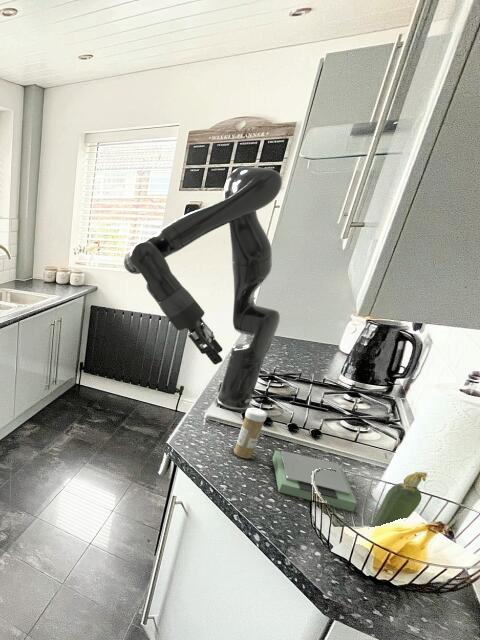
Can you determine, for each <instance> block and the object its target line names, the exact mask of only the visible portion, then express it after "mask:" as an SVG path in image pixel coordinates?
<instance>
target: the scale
mask: <svg viewBox="0 0 480 640" xmlns="http://www.w3.org/2000/svg"><path fill="white" fill-rule="evenodd" d="M280 452H281V451H280V450H274V452H273V455H272V464H273V467H274V473H275V478H276V479H275V480H276V485H277V491H278V493H281V494H284V495H289V496H293V497H296V498H299V499H304V500H308V501H311V492H312V491H311V486H310V485H306V484H302V483H297V482H293V481H289V480H286V478H285V473H284V469H283V464H282V459H281V455H280ZM338 465H339V464H338ZM339 467H340V470H341V472H342V475H343V477H344V479H345V482H346V484H347V487H348V489H349V491H350V495H349V496H348V495H344V494H340V493H336V492H333V491H329V490H325V489H322V488H318V490H319V492H320V493H321V495H322V496H323V498H324V499H326V500H327V503H329V504H331V505H332V506H331V507H334V508H338V509H341V510H345V511H349V512H354V511H355V509H356V506H357V504H358V503H357V500H356V498H355V495H354V493H353V491H352V487H351V486H350V483H349V480H348V478H347V476H346V473H345V471H344V469H343V467H342V465H339ZM332 501H333V502H332Z"/></svg>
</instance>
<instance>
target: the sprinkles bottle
mask: <svg viewBox="0 0 480 640" xmlns="http://www.w3.org/2000/svg"><path fill="white" fill-rule="evenodd" d="M267 416H268V413H267V412H266V411H265V410H263V409H260V408H257V407H249V408H248V409H247V410H245V414H244V419H243V422H242V425H241V426H240V430H239V434H238V436H237V440H236V444H235V446H234V449H233V453H234V454H235V455H236V456H237V457H239V458H242V459H252V458H253V456H254V452H255V449H256V446H257V444H258V440H259V438H260V436H261V431H262V428H263V426H264V423H265V421H266V420H267V418H268V417H267Z"/></svg>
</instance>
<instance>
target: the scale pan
mask: <svg viewBox="0 0 480 640" xmlns="http://www.w3.org/2000/svg"><path fill="white" fill-rule="evenodd" d="M279 452H280V455H281V459H282V464H283V469H284V473H285V478H286V480H289V481H293V482H297V483H302V484H306V485H310V486H311V473H312V471H314V470H315V469H319V468H331V469H334V470H336V471H338V472H339V473H337V472H335V471H330V470H321V471H319V472H317V474H316V475H315V481H316V485H317V487H318V488H322V489H325V490H329V491H333V492H336V493H340V494H344V495H348V496H349V495H350V491H349V489H348V487H347V484H346V482H345V479H344V477H343V475H342V472H341V470H340V467H339V463H338V462H337V463H336V462H333V461H329V460H325V459H321V458H317V457H312V456H307V455H303V454H298V453H294V452H289V451H286V450H280V451H279Z"/></svg>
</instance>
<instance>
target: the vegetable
mask: <svg viewBox="0 0 480 640" xmlns="http://www.w3.org/2000/svg"><path fill="white" fill-rule="evenodd" d="M428 477H429V476H428V474H427V472H423V471H415V472H414V473H411V474H408V475H407V476H405V477H404V479H403V482H400V483H396V484H394V485H393V486H391V488H390V489H389V490H388V491H387V492H386V494H385V496H384V498H383V500H382V502H381V504H380V507H379V509H378V510H377V512H376V515H375V516H374V518H373V520H372V521H371V523H370V525H369V526H368V528H369V527H375V526H381V525H383V524H386V523H390V522H393V521H395V520H398V519H400V518H401V519H403V518H407V519H408V518H410V516H411V515H412V514H413V513H414V512H415V510H416V509H417V508H418V506H419V505H420V503H421V501H422V493H421V491H420V490H419V485H420V483H421V482H422V481H423V482H426V480H427V478H428Z"/></svg>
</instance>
